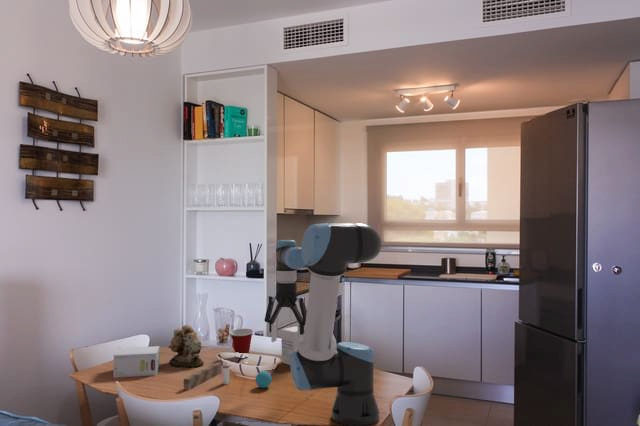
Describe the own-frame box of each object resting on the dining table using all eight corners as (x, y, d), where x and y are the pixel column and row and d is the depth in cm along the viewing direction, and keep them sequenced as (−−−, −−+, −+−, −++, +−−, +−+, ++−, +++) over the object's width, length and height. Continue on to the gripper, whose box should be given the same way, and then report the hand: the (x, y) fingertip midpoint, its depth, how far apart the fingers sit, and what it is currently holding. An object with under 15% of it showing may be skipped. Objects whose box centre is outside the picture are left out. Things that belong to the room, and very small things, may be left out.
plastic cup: (225, 358, 245) (225, 332, 246) (237, 353, 256) (237, 327, 256) (246, 361, 242) (246, 334, 242) (257, 355, 252) (257, 329, 252)
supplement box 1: (113, 378, 218) (112, 354, 218) (118, 369, 231) (118, 347, 231) (156, 375, 221) (156, 352, 221) (159, 366, 234) (159, 345, 234)
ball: (267, 390, 200) (267, 374, 200) (252, 389, 202) (252, 373, 202) (274, 386, 206) (274, 370, 206) (260, 384, 208) (259, 368, 208)
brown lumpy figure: (160, 364, 237) (160, 325, 237) (179, 358, 247) (179, 321, 248) (191, 370, 228) (191, 329, 228) (210, 363, 238) (210, 324, 239)
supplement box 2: (296, 359, 245) (296, 325, 245) (309, 362, 238) (309, 328, 238) (280, 362, 239) (280, 328, 239) (294, 366, 232) (293, 331, 232)
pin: (227, 384, 208) (227, 362, 208) (221, 384, 209) (221, 361, 209) (230, 382, 210) (230, 360, 210) (224, 382, 211) (224, 360, 211)
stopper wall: (188, 390, 201) (188, 379, 201) (183, 389, 202) (183, 379, 202) (221, 372, 224) (221, 363, 224) (217, 372, 224) (217, 362, 224)
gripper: (318, 281, 201) (318, 342, 201) (263, 279, 208) (263, 337, 208) (311, 284, 194) (311, 346, 193) (254, 281, 201) (255, 342, 201)
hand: (286, 342), depth 201 cm, fingers open, 10 cm apart
